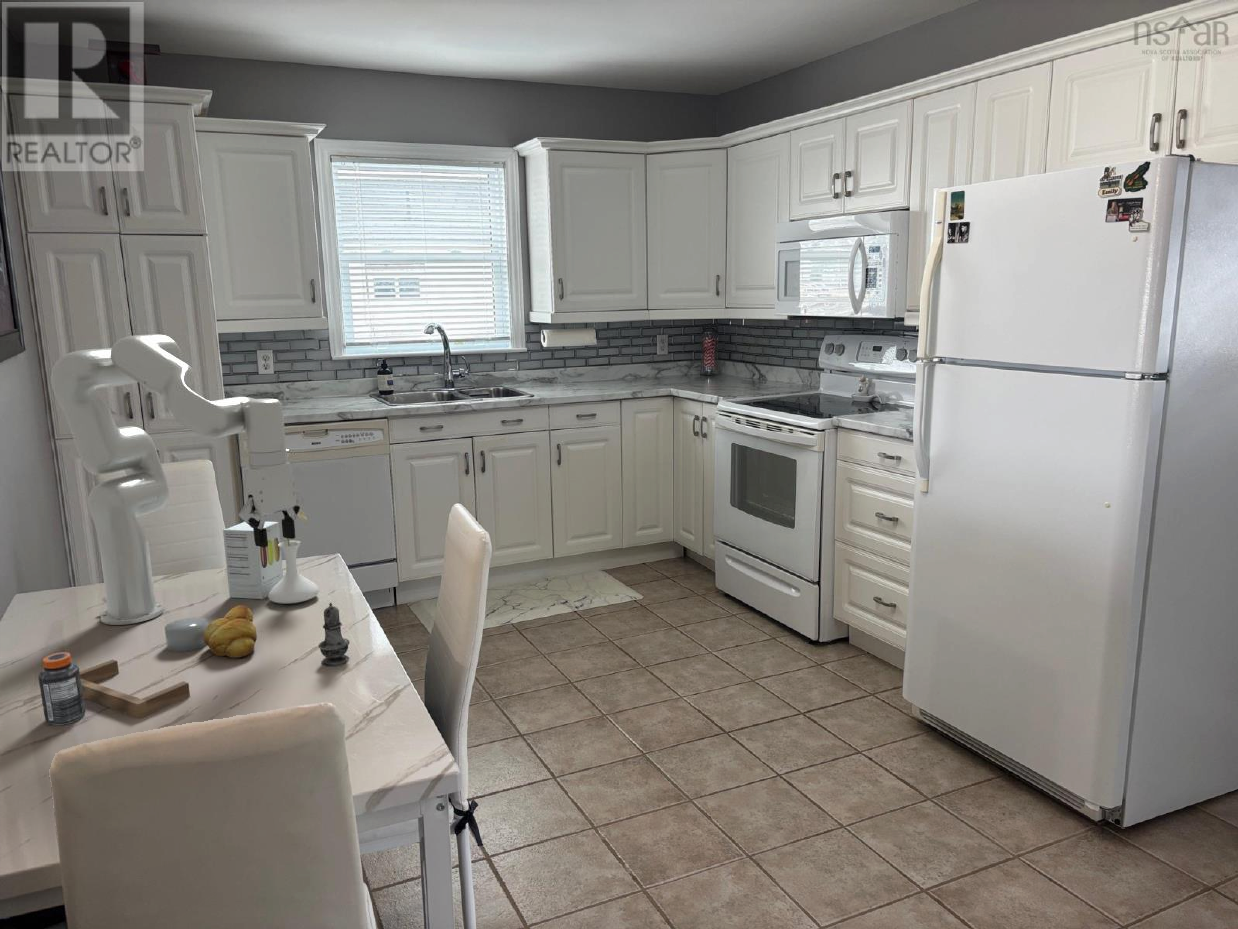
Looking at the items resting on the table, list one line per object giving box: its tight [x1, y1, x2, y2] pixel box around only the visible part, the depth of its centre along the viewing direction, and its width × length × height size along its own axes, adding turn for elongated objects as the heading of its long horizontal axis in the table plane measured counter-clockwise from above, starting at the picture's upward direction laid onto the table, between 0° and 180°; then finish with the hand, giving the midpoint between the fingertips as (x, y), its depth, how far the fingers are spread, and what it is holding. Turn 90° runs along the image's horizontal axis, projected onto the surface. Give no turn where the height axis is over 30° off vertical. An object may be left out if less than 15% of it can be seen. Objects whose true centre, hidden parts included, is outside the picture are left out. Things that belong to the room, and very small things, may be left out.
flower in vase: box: [267, 509, 320, 605], centre depth 209 cm, size 13×11×25 cm
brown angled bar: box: [79, 659, 191, 719], centre depth 162 cm, size 23×10×2 cm, turn 60°
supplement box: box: [222, 521, 284, 600], centre depth 215 cm, size 10×9×17 cm
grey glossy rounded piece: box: [164, 617, 209, 653], centre depth 184 cm, size 8×8×4 cm
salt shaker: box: [317, 602, 350, 667], centre depth 174 cm, size 6×6×12 cm
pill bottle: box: [38, 651, 86, 726], centre depth 152 cm, size 6×6×11 cm
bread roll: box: [204, 604, 258, 658], centre depth 180 cm, size 13×10×8 cm
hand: (275, 541), depth 188 cm, fingers open, 6 cm apart
